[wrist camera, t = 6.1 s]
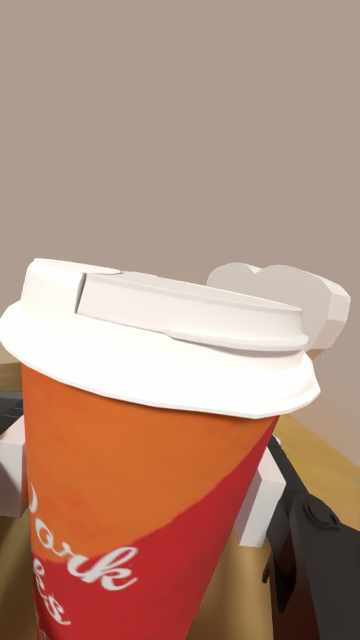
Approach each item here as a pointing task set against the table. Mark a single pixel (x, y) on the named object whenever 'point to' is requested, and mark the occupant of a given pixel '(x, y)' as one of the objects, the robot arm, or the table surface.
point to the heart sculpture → (292, 298)
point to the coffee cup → (142, 437)
